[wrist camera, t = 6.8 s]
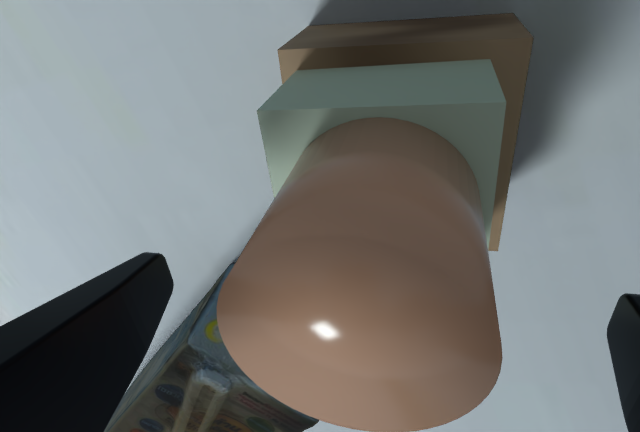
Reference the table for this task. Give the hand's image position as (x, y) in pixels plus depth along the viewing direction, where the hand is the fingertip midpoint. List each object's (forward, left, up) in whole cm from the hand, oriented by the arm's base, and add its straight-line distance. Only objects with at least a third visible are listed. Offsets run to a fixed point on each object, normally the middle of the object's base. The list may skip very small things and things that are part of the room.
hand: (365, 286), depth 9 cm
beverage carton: (+12, +18, -11) cm, 24 cm away
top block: (0, 0, -6) cm, 6 cm away
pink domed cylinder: (0, 0, -3) cm, 3 cm away
